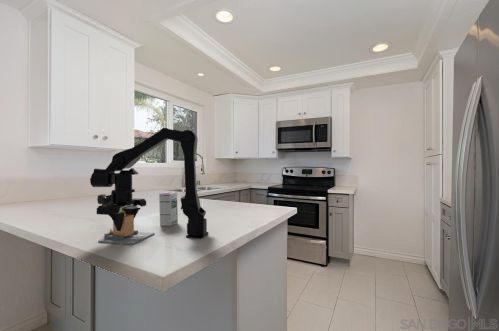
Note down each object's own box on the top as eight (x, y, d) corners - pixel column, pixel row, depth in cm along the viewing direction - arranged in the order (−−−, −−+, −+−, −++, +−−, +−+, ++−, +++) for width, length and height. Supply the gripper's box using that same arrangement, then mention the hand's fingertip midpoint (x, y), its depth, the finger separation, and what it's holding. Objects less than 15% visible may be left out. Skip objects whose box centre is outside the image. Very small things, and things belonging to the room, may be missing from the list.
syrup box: (171, 226, 103) (171, 193, 103) (159, 225, 104) (158, 193, 104) (177, 223, 109) (177, 191, 108) (166, 222, 110) (166, 191, 110)
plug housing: (133, 233, 89) (133, 214, 89) (125, 236, 84) (124, 217, 84) (122, 232, 90) (122, 214, 90) (113, 235, 85) (113, 216, 85)
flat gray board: (154, 234, 91) (154, 225, 91) (133, 244, 79) (132, 234, 79) (123, 232, 94) (123, 223, 94) (98, 242, 82) (98, 232, 82)
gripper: (123, 184, 98) (123, 221, 98) (82, 189, 79) (83, 235, 80) (147, 184, 95) (147, 223, 95) (110, 189, 77) (111, 237, 77)
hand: (123, 229), depth 87 cm, fingers closed on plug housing, 4 cm apart
